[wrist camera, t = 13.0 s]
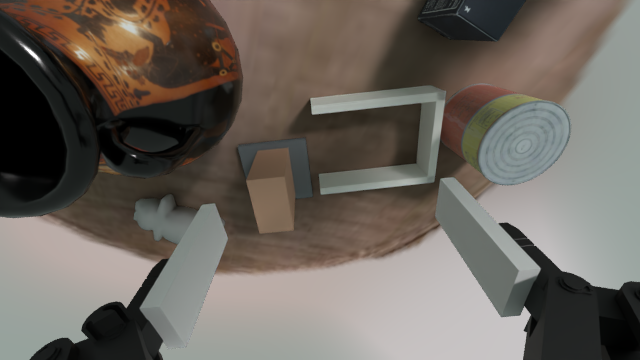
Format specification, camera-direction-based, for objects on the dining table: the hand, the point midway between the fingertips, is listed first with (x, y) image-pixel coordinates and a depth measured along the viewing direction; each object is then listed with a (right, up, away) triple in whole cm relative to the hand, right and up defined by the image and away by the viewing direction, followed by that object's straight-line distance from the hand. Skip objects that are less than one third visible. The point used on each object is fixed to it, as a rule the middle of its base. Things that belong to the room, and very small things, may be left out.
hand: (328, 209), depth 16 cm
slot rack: (+8, +9, +29) cm, 31 cm away
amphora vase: (-20, +18, +22) cm, 35 cm away
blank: (-8, +3, +30) cm, 31 cm away
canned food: (+24, +12, +28) cm, 39 cm away
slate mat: (-8, +3, +31) cm, 32 cm away
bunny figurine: (-26, -5, +34) cm, 43 cm away
